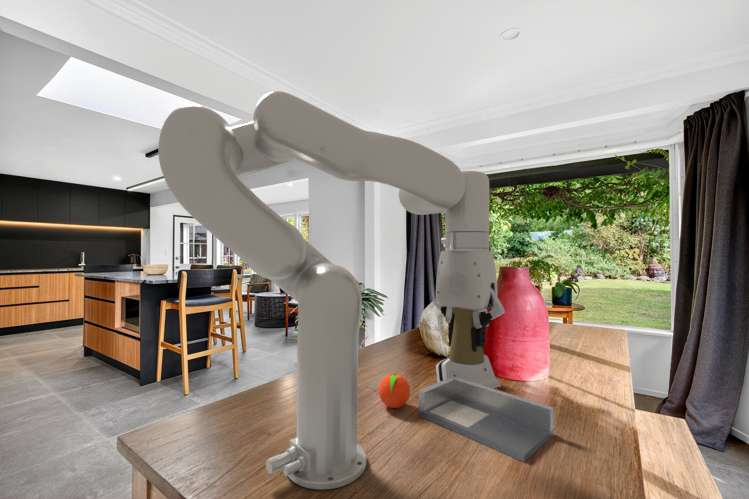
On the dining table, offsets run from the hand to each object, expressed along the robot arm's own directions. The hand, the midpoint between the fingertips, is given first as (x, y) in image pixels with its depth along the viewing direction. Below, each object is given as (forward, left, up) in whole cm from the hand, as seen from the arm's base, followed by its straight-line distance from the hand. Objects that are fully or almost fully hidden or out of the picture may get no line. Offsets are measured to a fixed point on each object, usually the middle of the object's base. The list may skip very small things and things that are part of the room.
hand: (466, 346), depth 63 cm
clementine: (+2, +19, -18) cm, 26 cm away
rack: (+9, +2, -17) cm, 20 cm away
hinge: (+24, +14, -18) cm, 33 cm away
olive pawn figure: (0, 0, -2) cm, 2 cm away
